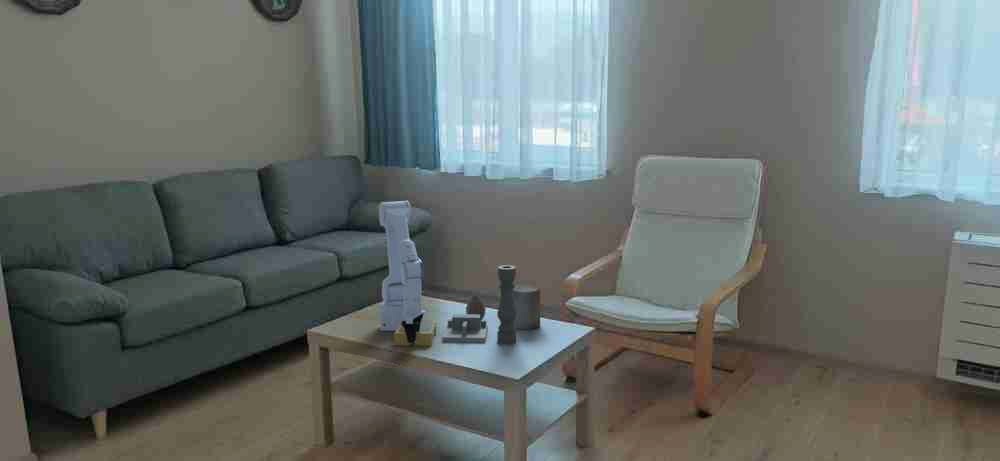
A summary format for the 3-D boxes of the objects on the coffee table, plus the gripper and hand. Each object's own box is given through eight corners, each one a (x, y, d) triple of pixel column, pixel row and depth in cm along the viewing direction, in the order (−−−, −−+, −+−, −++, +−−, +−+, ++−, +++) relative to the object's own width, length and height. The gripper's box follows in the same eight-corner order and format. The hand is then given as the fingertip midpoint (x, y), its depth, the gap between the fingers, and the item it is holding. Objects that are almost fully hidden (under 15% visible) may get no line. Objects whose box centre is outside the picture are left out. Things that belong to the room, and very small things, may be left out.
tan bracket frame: (431, 345, 244) (431, 333, 243) (394, 345, 244) (394, 333, 244) (436, 334, 255) (436, 322, 254) (400, 333, 256) (400, 322, 255)
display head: (485, 342, 247) (485, 324, 246) (442, 341, 248) (442, 324, 246) (487, 329, 260) (487, 312, 259) (447, 329, 260) (446, 312, 259)
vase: (486, 317, 274) (486, 293, 272) (484, 323, 267) (484, 299, 265) (467, 316, 274) (467, 293, 273) (464, 322, 268) (464, 298, 266)
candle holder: (502, 346, 243) (502, 270, 239) (494, 340, 249) (493, 266, 244) (519, 343, 246) (519, 268, 241) (510, 337, 252) (510, 264, 247)
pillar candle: (539, 321, 269) (538, 280, 266) (541, 329, 259) (541, 287, 256) (511, 322, 268) (511, 280, 266) (512, 330, 259) (512, 288, 256)
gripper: (421, 304, 235) (422, 346, 237) (428, 291, 249) (429, 331, 251) (398, 304, 235) (400, 345, 237) (406, 291, 249) (407, 331, 252)
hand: (413, 338), depth 244 cm, fingers open, 7 cm apart
